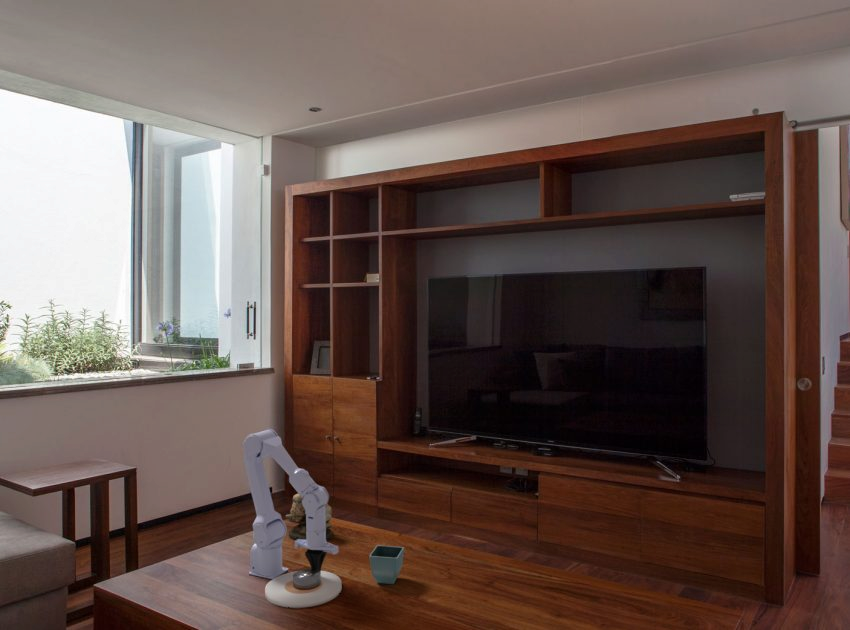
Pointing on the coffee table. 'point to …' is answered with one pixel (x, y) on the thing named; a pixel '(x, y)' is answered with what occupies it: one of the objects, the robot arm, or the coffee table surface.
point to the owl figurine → (300, 518)
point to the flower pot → (386, 563)
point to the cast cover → (306, 579)
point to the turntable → (302, 591)
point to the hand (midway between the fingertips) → (316, 573)
